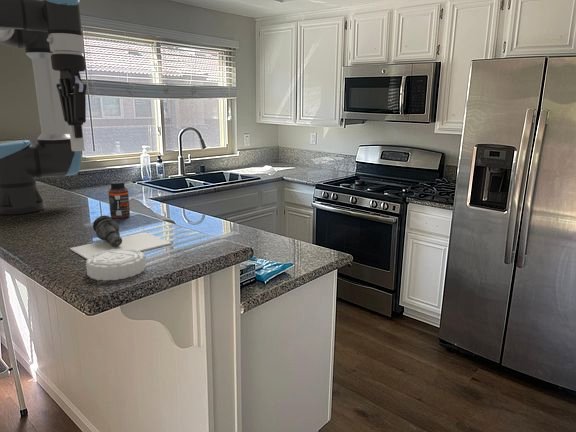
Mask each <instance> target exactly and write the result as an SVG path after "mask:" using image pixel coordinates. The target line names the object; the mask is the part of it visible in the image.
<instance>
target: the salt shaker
mask: <svg viewBox="0 0 576 432" xmlns="http://www.w3.org/2000/svg"><path fill="white" fill-rule="evenodd" d="M113 219H114V218H112V217H111V216H109V215H101V216H98V217H96V218H95V220H94V221H93V224H92V228H93V230H94V232H95V235H96V237H97V238H98V239H99V240H102V241H107V242H109V243H110V244H111V245H112V246H114V247H117V246H119V245H121V243H122V238H121V237H122V236H121V233H120V226H119V224H118V222H117V221H115V220H113Z"/></svg>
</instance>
